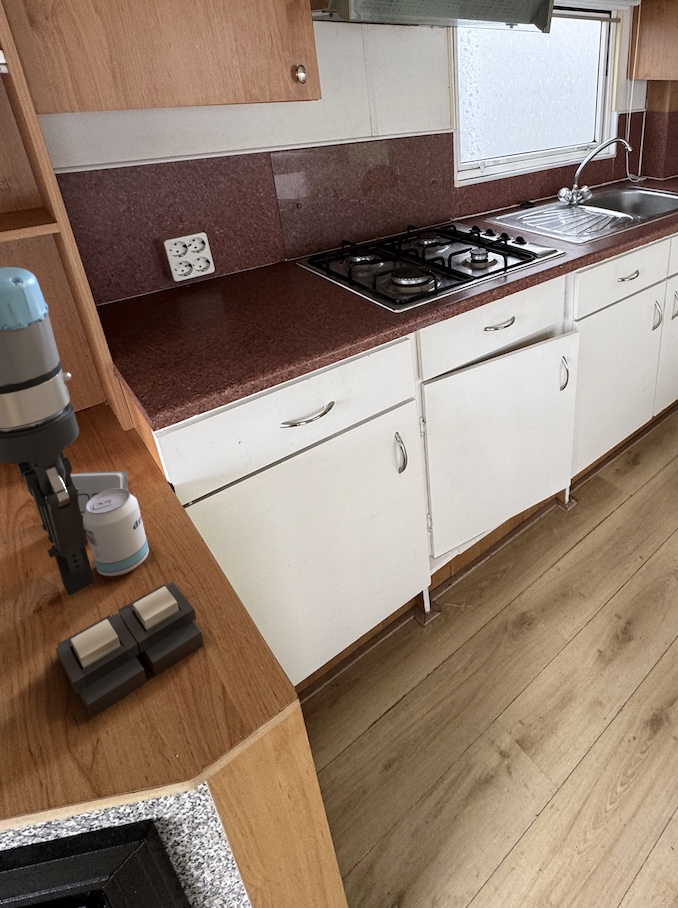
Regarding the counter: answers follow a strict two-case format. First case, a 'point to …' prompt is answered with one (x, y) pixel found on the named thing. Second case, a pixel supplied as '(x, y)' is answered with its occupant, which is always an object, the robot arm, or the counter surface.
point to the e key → (155, 607)
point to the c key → (95, 643)
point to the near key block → (104, 670)
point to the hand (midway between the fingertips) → (80, 586)
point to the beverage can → (115, 532)
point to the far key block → (165, 632)
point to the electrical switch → (97, 485)
